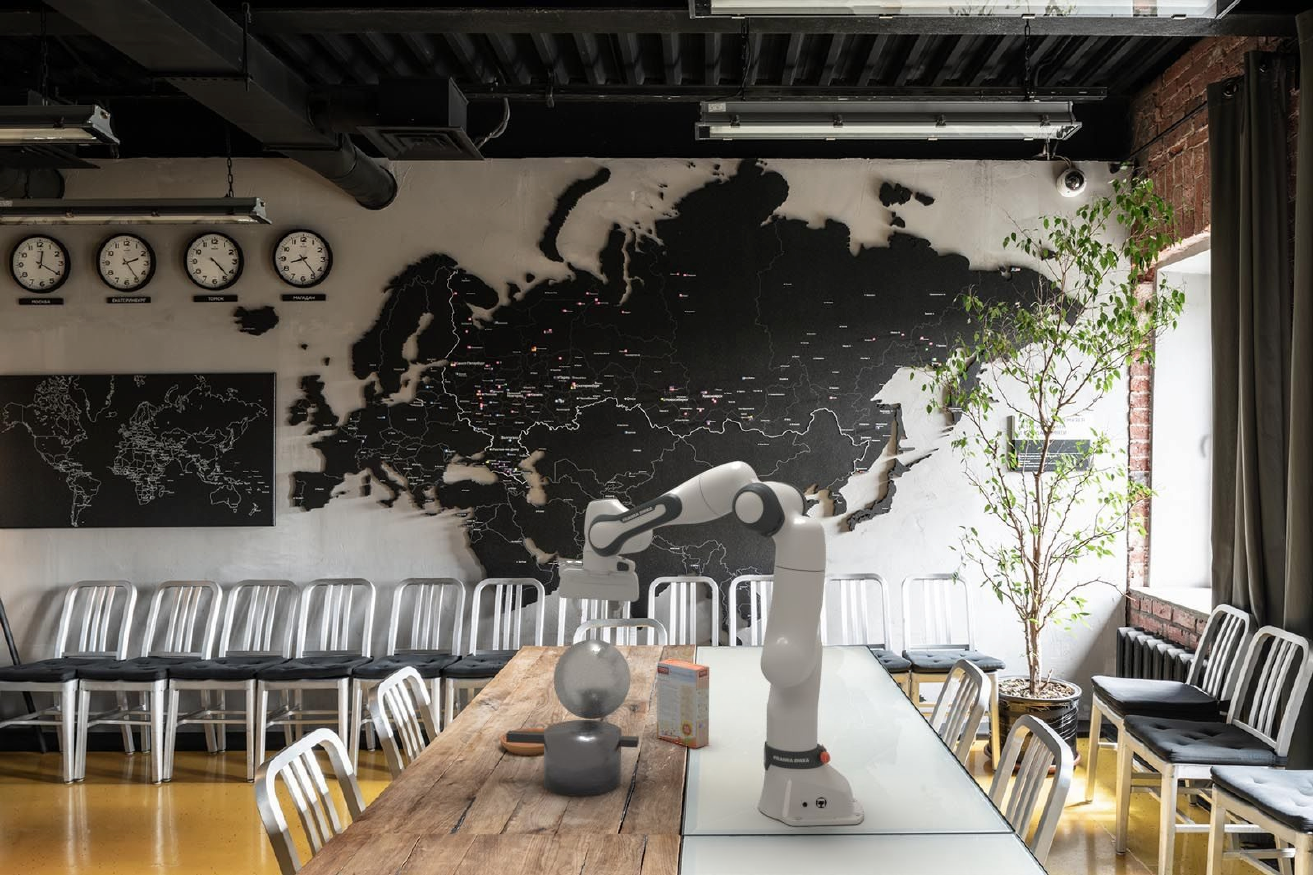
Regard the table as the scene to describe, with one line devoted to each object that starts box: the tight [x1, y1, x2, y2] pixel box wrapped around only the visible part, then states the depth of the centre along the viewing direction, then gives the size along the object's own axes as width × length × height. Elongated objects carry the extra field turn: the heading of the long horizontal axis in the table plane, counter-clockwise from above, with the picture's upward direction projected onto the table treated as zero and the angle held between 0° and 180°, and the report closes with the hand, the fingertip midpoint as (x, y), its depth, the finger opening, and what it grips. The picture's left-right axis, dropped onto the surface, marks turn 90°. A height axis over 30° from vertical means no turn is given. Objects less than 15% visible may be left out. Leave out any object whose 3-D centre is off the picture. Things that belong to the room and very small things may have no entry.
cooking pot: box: [506, 719, 640, 798], centre depth 218 cm, size 31×18×12 cm, turn 84°
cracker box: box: [656, 658, 710, 750], centre depth 250 cm, size 14×6×21 cm, turn 47°
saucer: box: [499, 727, 546, 756], centre depth 244 cm, size 16×16×3 cm
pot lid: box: [553, 639, 631, 720], centre depth 231 cm, size 19×19×3 cm
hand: (597, 617), depth 234 cm, fingers open, 8 cm apart
